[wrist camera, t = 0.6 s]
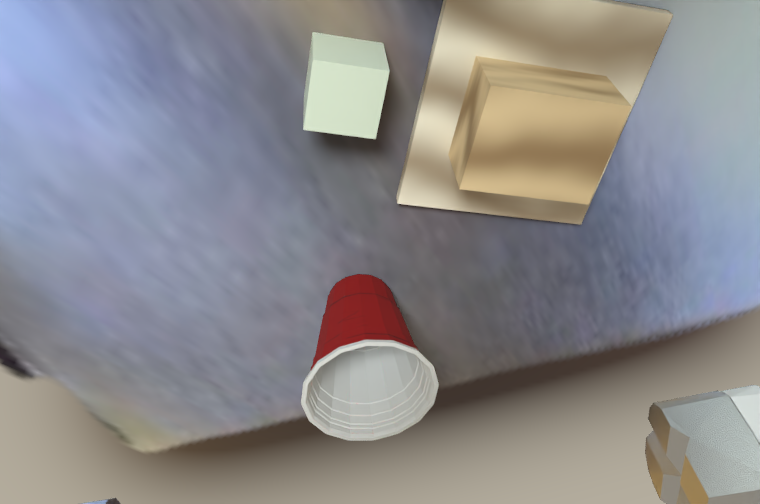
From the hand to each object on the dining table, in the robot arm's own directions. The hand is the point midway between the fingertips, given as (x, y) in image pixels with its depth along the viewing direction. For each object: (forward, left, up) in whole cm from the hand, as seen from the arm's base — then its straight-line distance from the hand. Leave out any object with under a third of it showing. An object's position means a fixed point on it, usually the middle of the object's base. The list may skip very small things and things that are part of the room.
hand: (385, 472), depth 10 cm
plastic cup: (+32, +8, -41) cm, 52 cm away
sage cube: (+11, +3, -41) cm, 42 cm away
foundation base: (+12, +17, -41) cm, 46 cm away
